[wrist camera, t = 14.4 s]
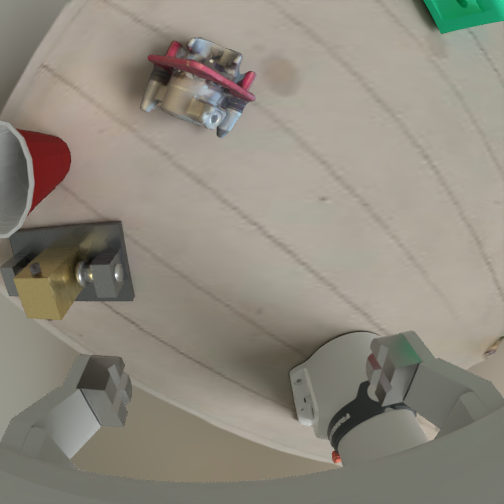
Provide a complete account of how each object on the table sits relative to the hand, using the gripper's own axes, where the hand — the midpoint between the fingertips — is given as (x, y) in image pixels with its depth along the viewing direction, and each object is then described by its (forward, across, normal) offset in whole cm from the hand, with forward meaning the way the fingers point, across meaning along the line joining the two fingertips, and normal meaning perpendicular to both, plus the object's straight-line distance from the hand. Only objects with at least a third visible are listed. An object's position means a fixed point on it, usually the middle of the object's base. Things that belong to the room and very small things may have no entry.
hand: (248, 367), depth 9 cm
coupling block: (+25, -21, -7) cm, 34 cm away
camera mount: (+27, +30, +27) cm, 49 cm away
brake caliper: (+26, -3, +12) cm, 29 cm away
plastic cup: (+26, -21, +6) cm, 34 cm away
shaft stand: (+26, -22, -7) cm, 35 cm away
